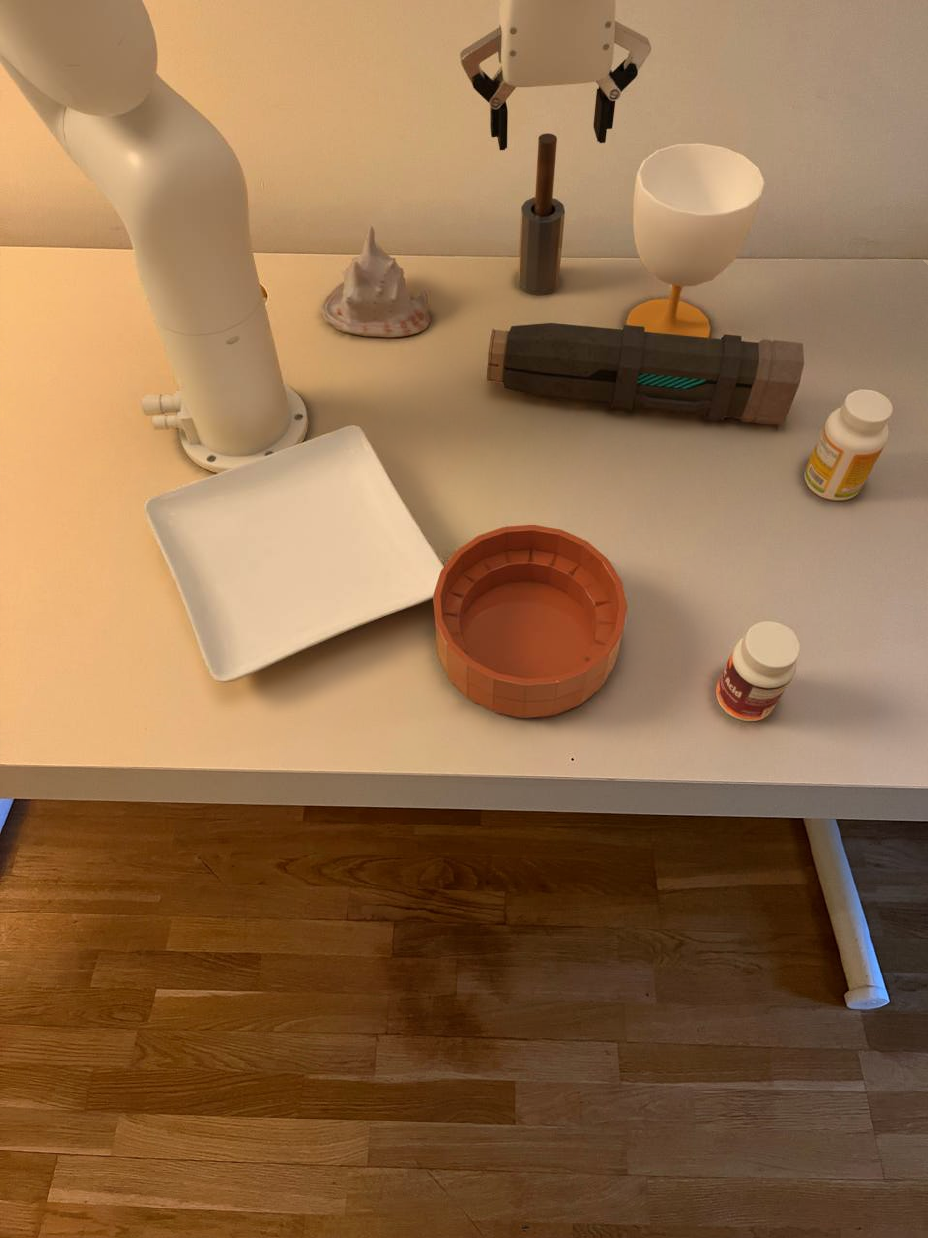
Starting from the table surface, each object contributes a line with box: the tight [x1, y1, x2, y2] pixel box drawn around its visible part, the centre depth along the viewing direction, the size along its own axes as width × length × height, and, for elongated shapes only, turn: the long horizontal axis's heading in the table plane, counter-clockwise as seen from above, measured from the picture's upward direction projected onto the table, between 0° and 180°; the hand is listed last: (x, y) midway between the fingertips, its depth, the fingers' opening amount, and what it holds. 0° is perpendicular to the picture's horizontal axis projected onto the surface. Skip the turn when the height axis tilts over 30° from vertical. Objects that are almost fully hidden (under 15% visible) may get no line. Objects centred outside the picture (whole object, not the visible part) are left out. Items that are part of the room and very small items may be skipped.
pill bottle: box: [715, 620, 801, 722], centre depth 70 cm, size 5×5×8 cm
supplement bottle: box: [804, 388, 894, 501], centre depth 82 cm, size 5×5×10 cm
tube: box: [486, 322, 805, 426], centre depth 89 cm, size 11×7×30 cm
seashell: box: [321, 225, 431, 338], centre depth 96 cm, size 10×12×9 cm
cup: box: [625, 142, 766, 338], centre depth 91 cm, size 12×12×17 cm
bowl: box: [432, 524, 628, 719], centre depth 74 cm, size 15×15×6 cm
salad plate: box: [143, 424, 445, 684], centre depth 79 cm, size 21×21×3 cm
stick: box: [534, 132, 558, 217], centre depth 95 cm, size 2×2×16 cm
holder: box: [517, 196, 566, 296], centre depth 98 cm, size 4×4×9 cm
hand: (550, 138), depth 89 cm, fingers open, 9 cm apart
